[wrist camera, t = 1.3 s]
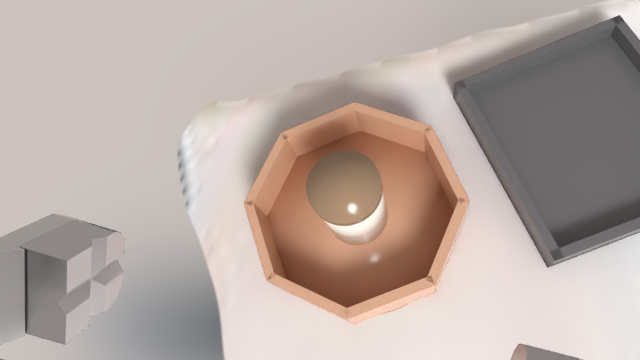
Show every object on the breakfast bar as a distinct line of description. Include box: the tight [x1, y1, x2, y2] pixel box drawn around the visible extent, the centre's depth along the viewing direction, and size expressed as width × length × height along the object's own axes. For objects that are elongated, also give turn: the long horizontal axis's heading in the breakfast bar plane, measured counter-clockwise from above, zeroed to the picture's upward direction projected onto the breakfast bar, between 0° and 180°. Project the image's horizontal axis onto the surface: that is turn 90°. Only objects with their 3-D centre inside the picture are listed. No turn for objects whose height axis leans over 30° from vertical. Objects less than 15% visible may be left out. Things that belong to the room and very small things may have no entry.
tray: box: [453, 15, 640, 267], centre depth 42 cm, size 16×18×2 cm
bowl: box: [244, 102, 469, 324], centre depth 43 cm, size 18×18×5 cm
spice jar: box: [306, 150, 388, 245], centre depth 40 cm, size 6×6×8 cm
